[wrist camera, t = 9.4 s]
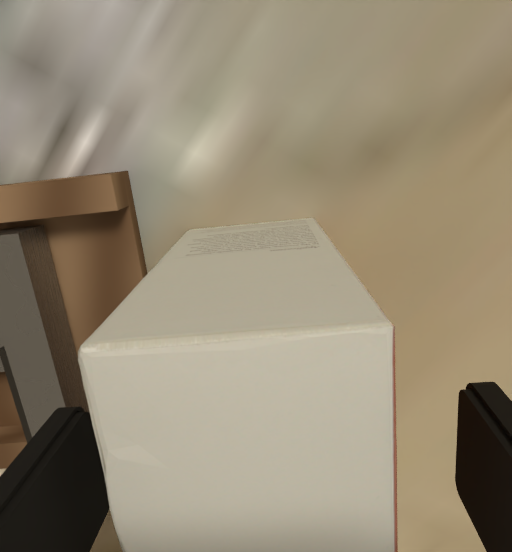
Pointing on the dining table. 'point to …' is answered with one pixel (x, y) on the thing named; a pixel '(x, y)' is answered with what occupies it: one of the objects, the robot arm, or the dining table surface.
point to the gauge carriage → (35, 330)
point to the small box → (247, 399)
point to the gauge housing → (76, 259)
